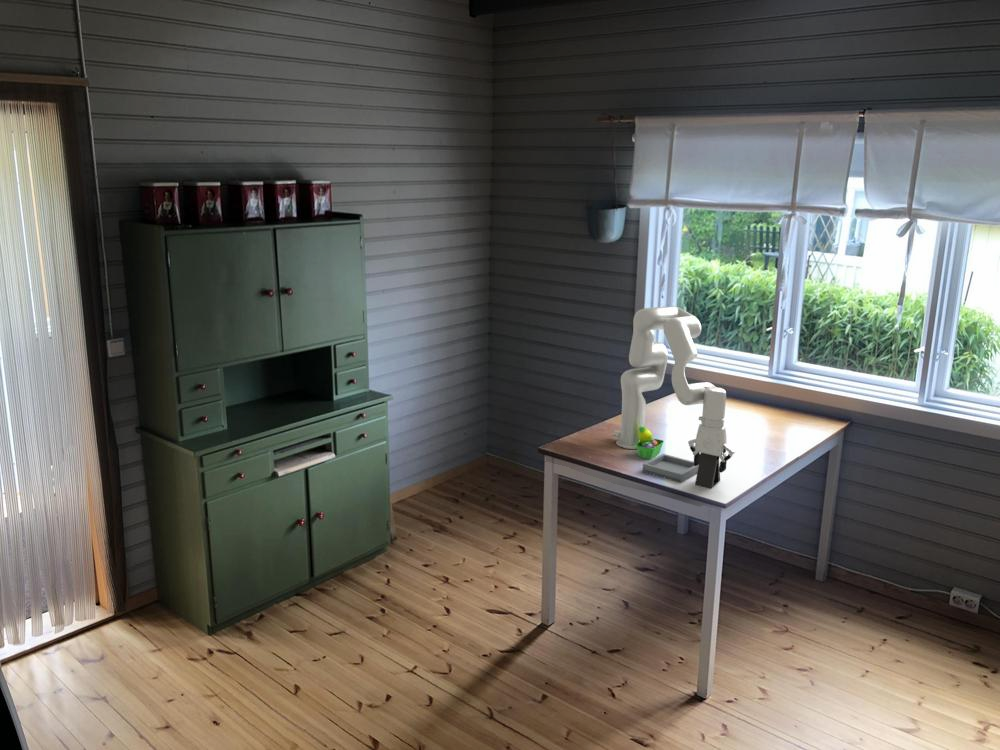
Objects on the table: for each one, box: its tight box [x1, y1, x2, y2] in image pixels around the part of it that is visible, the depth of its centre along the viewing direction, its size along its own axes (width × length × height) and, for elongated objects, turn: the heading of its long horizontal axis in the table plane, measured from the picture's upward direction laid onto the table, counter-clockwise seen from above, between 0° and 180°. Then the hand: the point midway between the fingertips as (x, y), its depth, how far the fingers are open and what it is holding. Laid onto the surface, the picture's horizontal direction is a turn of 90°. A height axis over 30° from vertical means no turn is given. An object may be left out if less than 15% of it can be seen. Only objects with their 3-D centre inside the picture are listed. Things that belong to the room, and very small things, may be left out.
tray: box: [642, 453, 699, 483], centre depth 297 cm, size 16×15×3 cm
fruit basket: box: [636, 426, 665, 460], centre depth 313 cm, size 11×9×11 cm
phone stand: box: [694, 453, 721, 489], centre depth 285 cm, size 9×6×12 cm, turn 145°
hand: (709, 468), depth 286 cm, fingers open, 9 cm apart
